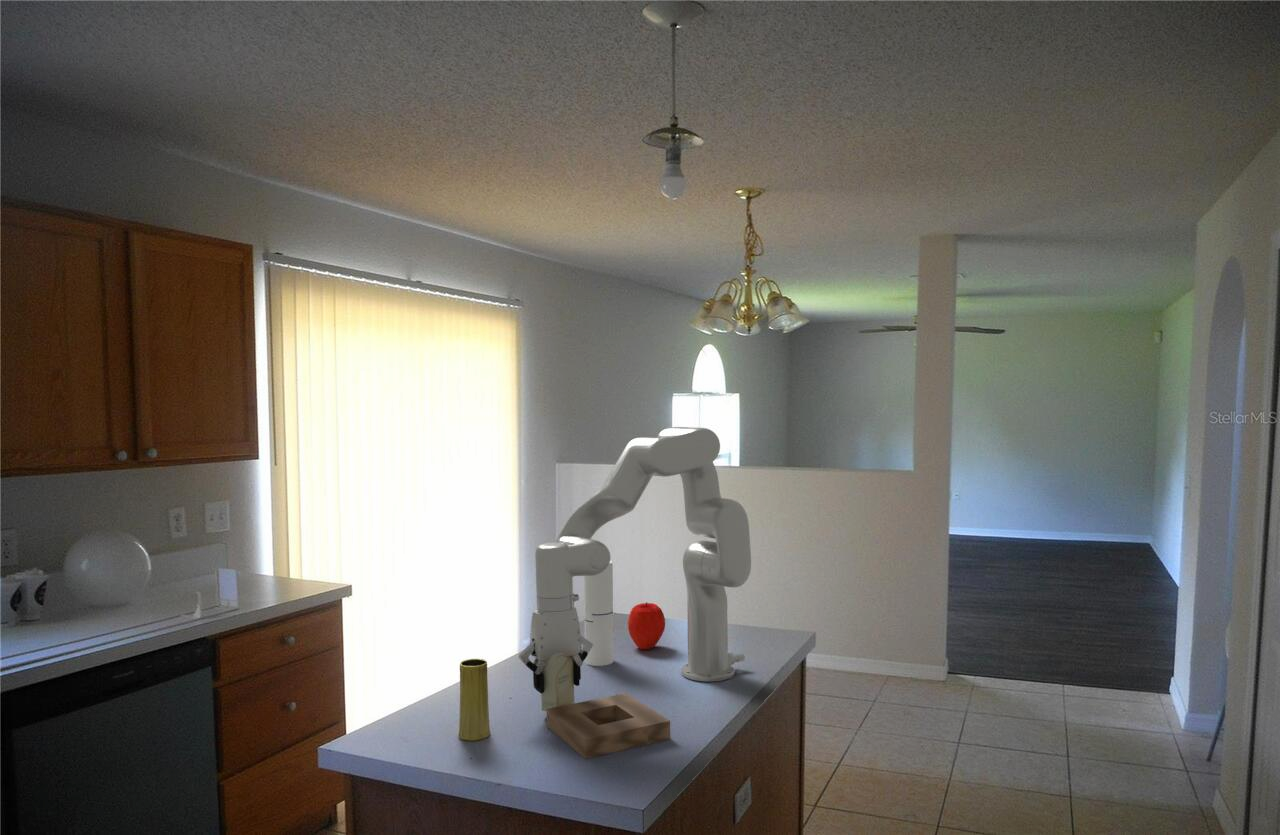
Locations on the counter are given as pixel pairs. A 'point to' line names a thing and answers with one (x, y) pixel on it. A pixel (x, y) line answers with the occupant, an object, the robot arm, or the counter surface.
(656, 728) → the docking block
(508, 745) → the counter surface
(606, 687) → the counter surface
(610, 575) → the cylindrical container
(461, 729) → the vase
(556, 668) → the skincare box
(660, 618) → the apple
